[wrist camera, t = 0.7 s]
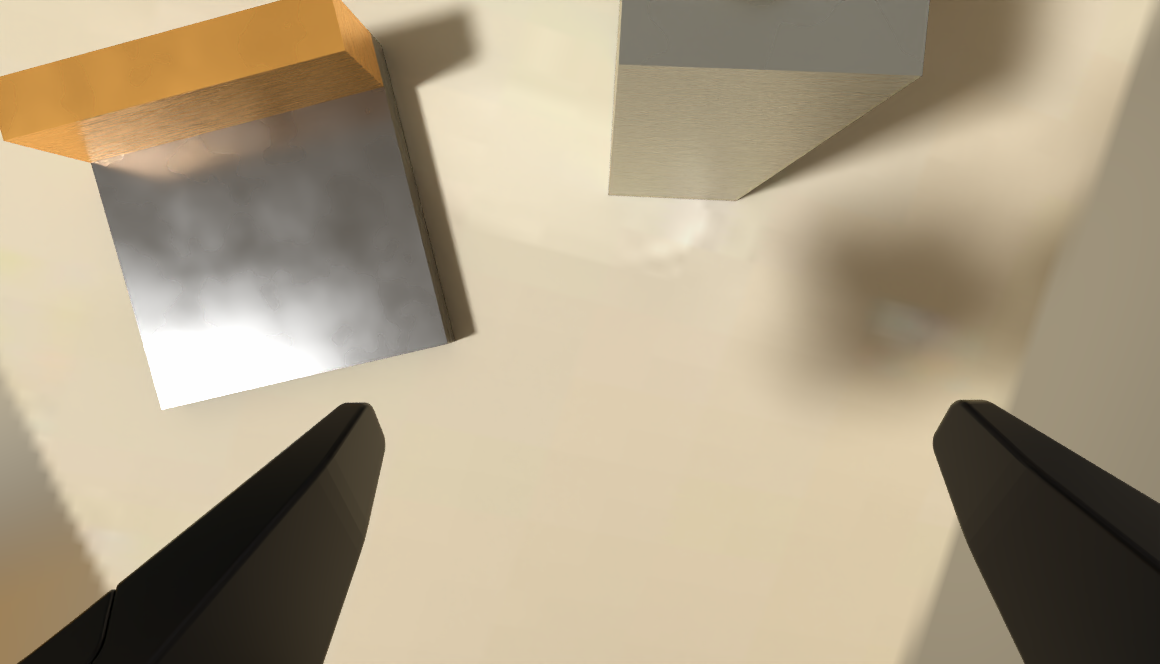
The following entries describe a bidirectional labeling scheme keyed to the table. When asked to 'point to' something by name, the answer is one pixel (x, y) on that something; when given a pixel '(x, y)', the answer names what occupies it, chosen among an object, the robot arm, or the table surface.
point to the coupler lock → (748, 86)
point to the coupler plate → (248, 194)
